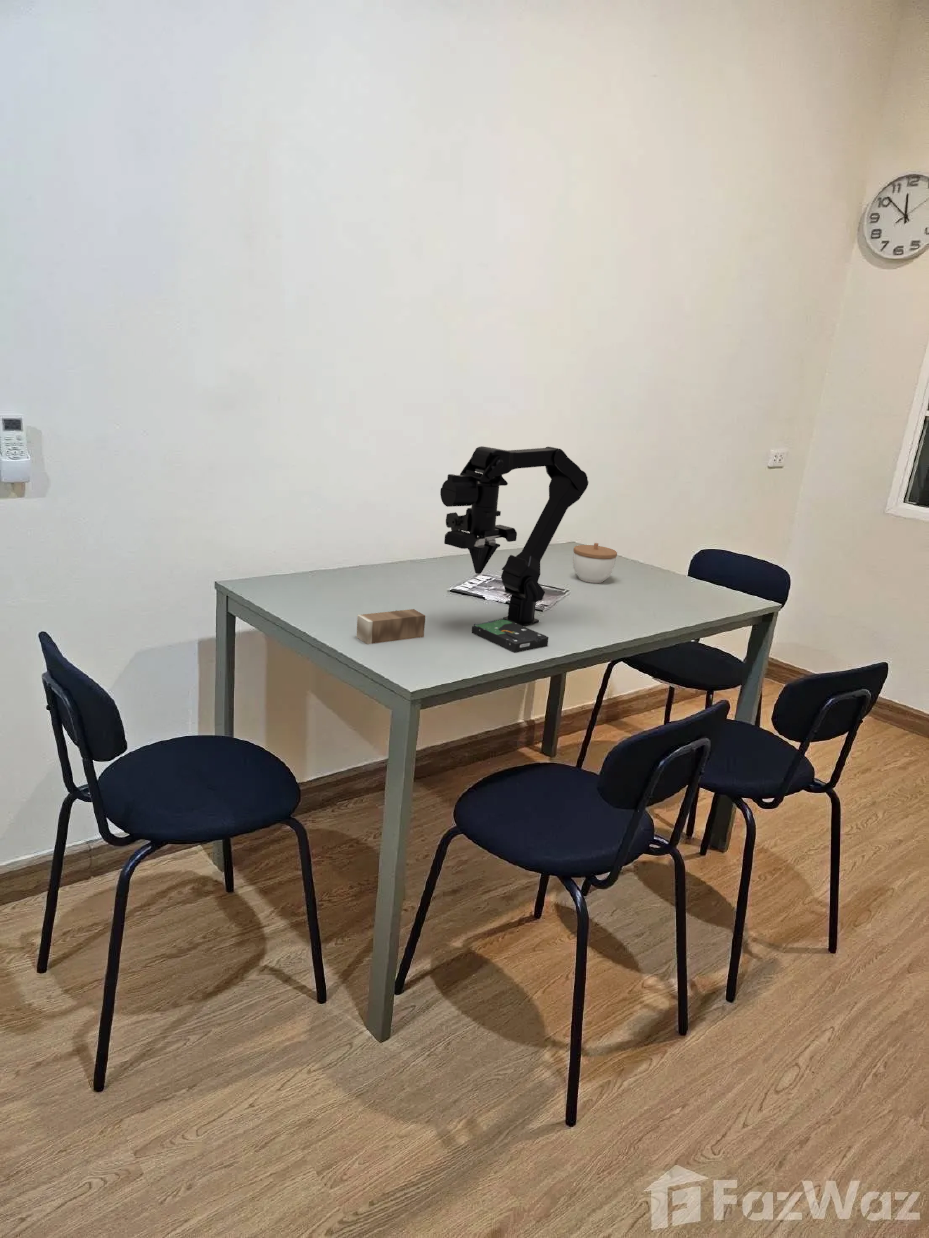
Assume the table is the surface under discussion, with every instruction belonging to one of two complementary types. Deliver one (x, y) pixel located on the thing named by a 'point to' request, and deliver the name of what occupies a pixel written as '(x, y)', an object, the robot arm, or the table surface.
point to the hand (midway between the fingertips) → (478, 573)
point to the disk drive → (510, 635)
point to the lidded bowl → (593, 562)
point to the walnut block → (390, 626)
